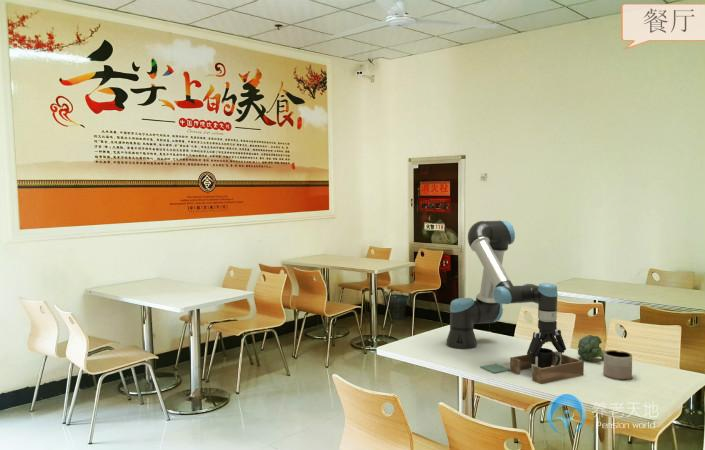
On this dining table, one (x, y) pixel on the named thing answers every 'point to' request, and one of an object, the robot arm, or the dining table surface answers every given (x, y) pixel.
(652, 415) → the dining table surface
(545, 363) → the mug
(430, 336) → the dining table surface
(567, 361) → the wooden tray frame
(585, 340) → the vegetable
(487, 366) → the mat
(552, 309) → the robot arm
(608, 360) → the planter
